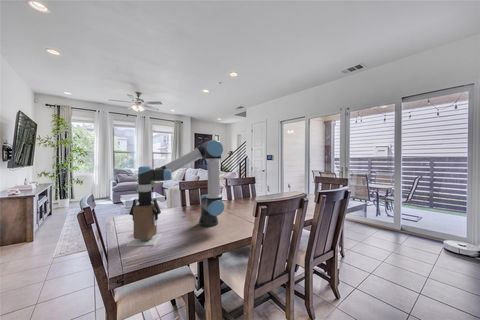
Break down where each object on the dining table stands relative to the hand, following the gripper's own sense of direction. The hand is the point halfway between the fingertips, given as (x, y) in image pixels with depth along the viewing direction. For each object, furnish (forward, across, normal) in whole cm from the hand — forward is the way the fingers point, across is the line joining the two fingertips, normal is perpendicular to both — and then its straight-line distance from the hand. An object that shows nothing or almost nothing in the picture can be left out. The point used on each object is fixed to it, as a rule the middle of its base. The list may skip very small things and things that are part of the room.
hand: (145, 225), depth 128 cm
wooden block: (+7, 0, 0) cm, 7 cm away
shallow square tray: (+9, 0, 0) cm, 9 cm away
